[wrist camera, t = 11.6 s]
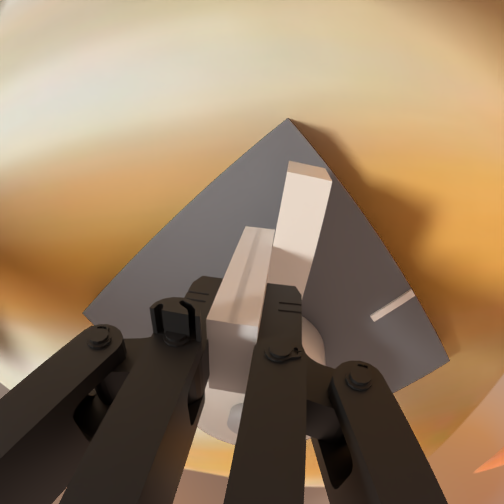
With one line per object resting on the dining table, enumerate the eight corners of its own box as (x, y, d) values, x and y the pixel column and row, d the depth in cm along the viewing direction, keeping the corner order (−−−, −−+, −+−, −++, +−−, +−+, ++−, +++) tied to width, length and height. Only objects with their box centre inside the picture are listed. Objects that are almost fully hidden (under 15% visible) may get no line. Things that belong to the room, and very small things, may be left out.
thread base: (253, 431, 27) (250, 448, 25) (94, 299, 23) (81, 314, 21) (442, 343, 20) (450, 362, 18) (288, 118, 15) (287, 117, 13)
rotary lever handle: (306, 399, 21) (303, 465, 15) (200, 378, 21) (177, 441, 16) (385, 179, 14) (432, 218, 8) (223, 146, 14) (179, 164, 9)
